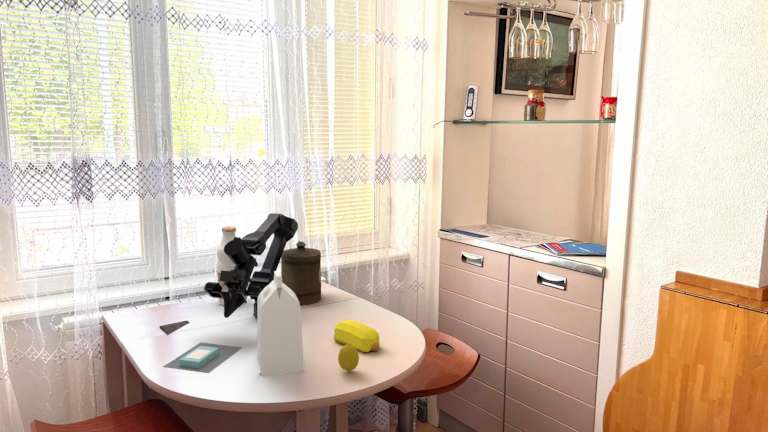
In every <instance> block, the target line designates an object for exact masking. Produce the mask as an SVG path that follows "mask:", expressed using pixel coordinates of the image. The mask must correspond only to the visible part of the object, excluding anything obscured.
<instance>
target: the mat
mask: <svg viewBox="0 0 768 432" xmlns="http://www.w3.org/2000/svg"><path fill="white" fill-rule="evenodd" d="M199 346H207V347H214V348H219V354H218V355H217V356H216V357H214V358H213V359H211V360H210V361H209V362H207V363H206V364H204V365H203V366H202V367H200V368H193V367H186V366H180V361H179V359H181V358H182V357H184V356H185V355H187V354H188V353H190V352H192V351H193V350H195V349H196V348H198V347H199ZM242 349H243V347H241V346H234V345H225V344H218V343H217V344H216V343H209V342H199V343H197V344H196V345H194V346H193V347H191V348H190V349H189V350H187V351H185V352H183V353H182V354H181V355H179V356H177V357H176V358H174V359H173V360H171V361H170V362H167V364H165V365H164V366H162V367H163V368H169V369H175V370H176V369H177V370H183V371H190V372H196V373H197V372H198V373H205V374H209V373H211V372H212V371H214V370H215V369H216V368H217V367H219V366H220V365H222V364H223V363H225V361H227V360H228V359H230V357H232V356H234V355H235V354H236V353H238V352H239V351H240V350H242Z"/></svg>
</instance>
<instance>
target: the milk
mask: <svg viewBox="0 0 768 432" xmlns="http://www.w3.org/2000/svg"><path fill="white" fill-rule="evenodd" d="M256 318H257V319H256V320H257V321H256V322H257V326H256V327H257V331H256V332H257V334H256V335H257V336H256V337H257V340H256V341H257V343H256V344H257V346H256V347H257V355H256V357H257V361H258V365H259V371H260V373H259V374H260V376H261V377H265V376H271V375H272V376H273V375H274V376H275V375H280V374H287V373H289V374H291V373H297V372H298V373H299V372H305V361H304V346H303V331H302V330H303V329H302V313H301V305H300V304H299V301H298V299H297V296H296V294H295V293H294V292H293V291H292V290H291V289H290V288H289V287H287V286H286V285H285V284H284V283H283V282H282V276H281V271H280V270H276V271H274V280H273V281H272V282H271V283H270V284H269V285H267V286H266V287H265V288H264V289H263V290H262V292H261V293H260V294H259V296H258V300H257V317H256Z"/></svg>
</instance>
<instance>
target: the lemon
mask: <svg viewBox="0 0 768 432" xmlns="http://www.w3.org/2000/svg"><path fill="white" fill-rule="evenodd" d="M337 357H338V359H337V360H338V365H339V366H340V368H341V369H342V370H344V371H346V372H347V373H350V372H351V371H354V370H355V369H356V368H357V366H358V365H359V361H360V359H359V358H360V355H359V350H358V349H356V348H355V347H354V346H353V345H350V344H344V345H343V346H341V348H340V350H339V352H338V356H337Z"/></svg>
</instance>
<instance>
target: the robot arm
mask: <svg viewBox="0 0 768 432" xmlns="http://www.w3.org/2000/svg"><path fill="white" fill-rule="evenodd" d="M298 228H299V222H297V221H296V219H295V218H292V217H289V216H286V215H284V214H282V213H276V212H275V213H274V212H273V213H269V214H268V215H267V218H266V219H264V221H263V222H262V224H260V225H259V227H257V229H256V230H254V232H251V233H248V234H246V235H244V236H243V237H242V238H241V236H239V237H237V236H236V237H234V239H233V240H232V241H230V242H228V243H227V244H226V245H225V247H224V252H225V254H226V255H227V256H228V257H229V259H230V260H231V261H232V262H233V263H234V264H236V265H235V267H234V270H231V271H221V273H220V279H219V281H224V284H225V285H227V287H222V286H221V285H220V284H219V283H218V282H216V281H215V282H213V281H208V282H206V283H205V284H204V287H203V290H204V291H205V293H207V294H208V296H210V297H211V298H215V299H218V298H221V297H223V299H224V305H223V308H224V309H223V317H224V318H226V319H229V317H230V316H232V314H234V312H236V311H237V310H238V309H239V308H240V307H241V306H242V305H243V304H247V303H248V301H247V300H248V297H250V300H254V303H253V314H252V315H253V316H254V317H256V318H257V300H258V296H259V294H260V293H261V292H262V290H263V289H264V288H265V287H266V286H267V285H269V284H270V283H271V282H272V281H273V280H274V271H278V267H279V265H280V263H281V256H282V254H283V251H284V250H285V249H286V246H287V243H288V242H289V241H291V240H292V239H293V238H294V237H295V235H296V232H297V231H298ZM272 235H273V238H272V241H271V243H270V245H269V249H268V252H267V253H266V256H265V259H264V262H263V264H262V266H261V269H260V270H258V271H257V270H255V271H254V268H255V267H258V266H259V263H258V262H257V258H256V257H254V256H262V254H263V253H264V252H265V250H266V248H267V242H268V240H269V239H270V238H271V236H272Z"/></svg>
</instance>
